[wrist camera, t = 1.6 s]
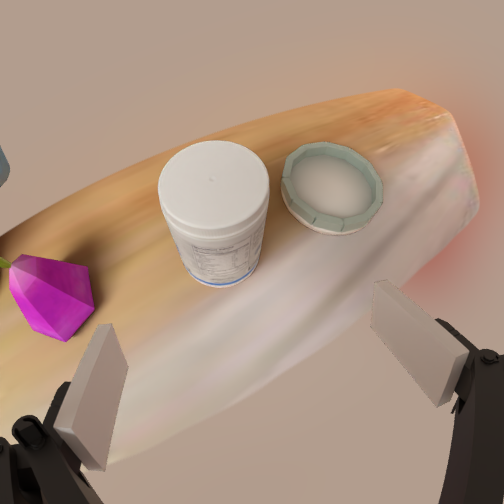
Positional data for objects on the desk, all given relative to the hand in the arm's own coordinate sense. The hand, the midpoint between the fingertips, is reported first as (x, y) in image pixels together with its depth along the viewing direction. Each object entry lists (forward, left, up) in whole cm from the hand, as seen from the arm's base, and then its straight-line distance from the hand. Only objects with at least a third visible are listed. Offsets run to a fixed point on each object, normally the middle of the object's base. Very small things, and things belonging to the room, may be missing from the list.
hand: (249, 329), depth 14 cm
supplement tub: (-6, +12, -20) cm, 24 cm away
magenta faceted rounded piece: (-24, 0, -20) cm, 31 cm away
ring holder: (+6, +25, -20) cm, 33 cm away
